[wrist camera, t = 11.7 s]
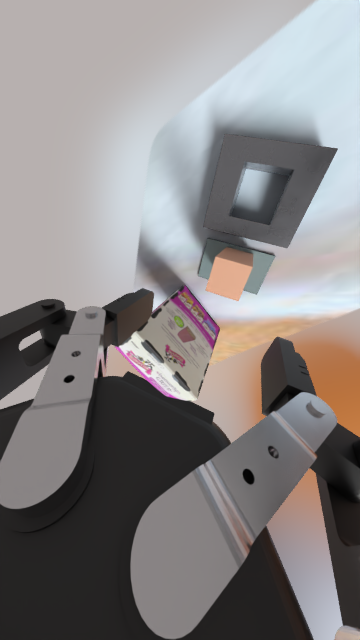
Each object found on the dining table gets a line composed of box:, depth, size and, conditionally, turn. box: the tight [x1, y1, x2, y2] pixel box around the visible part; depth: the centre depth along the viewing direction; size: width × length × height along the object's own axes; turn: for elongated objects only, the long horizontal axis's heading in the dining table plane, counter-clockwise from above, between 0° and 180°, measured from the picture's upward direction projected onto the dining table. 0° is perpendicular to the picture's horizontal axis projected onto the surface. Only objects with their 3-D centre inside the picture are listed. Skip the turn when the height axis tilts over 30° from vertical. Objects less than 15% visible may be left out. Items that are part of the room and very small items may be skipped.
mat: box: [198, 238, 275, 294], centre depth 27 cm, size 10×6×1 cm, turn 78°
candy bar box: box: [115, 285, 220, 401], centre depth 27 cm, size 11×5×16 cm, turn 43°
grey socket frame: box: [203, 134, 338, 248], centre depth 21 cm, size 11×9×3 cm
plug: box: [206, 247, 253, 301], centre depth 23 cm, size 4×4×9 cm
